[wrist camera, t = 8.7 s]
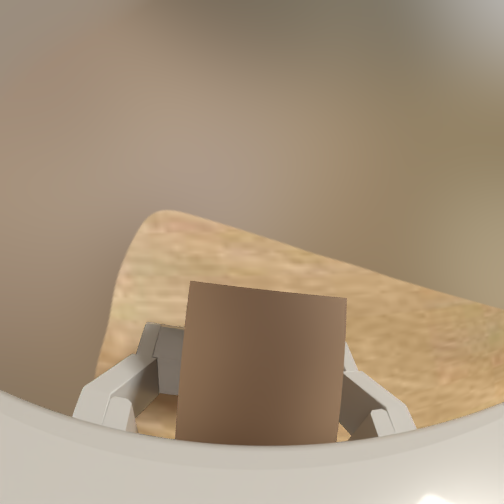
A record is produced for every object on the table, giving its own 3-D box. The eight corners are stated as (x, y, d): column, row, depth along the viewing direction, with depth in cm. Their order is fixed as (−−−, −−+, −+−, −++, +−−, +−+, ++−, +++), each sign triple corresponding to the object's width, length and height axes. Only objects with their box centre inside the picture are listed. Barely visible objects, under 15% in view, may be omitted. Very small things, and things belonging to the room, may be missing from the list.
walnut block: (274, 323, 15) (346, 298, 8) (268, 400, 14) (335, 446, 6) (195, 315, 15) (190, 280, 7) (187, 394, 13) (174, 443, 6)
